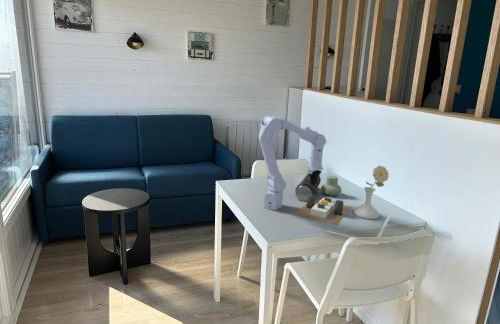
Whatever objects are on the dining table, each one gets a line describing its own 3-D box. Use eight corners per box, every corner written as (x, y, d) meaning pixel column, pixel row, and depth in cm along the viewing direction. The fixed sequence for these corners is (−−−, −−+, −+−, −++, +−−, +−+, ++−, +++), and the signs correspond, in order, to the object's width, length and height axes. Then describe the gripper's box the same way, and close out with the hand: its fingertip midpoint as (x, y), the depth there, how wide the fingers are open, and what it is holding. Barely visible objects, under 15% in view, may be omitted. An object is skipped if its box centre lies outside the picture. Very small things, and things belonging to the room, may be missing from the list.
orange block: (327, 205, 169) (327, 202, 169) (321, 203, 170) (321, 200, 170) (328, 204, 170) (328, 201, 170) (322, 202, 172) (322, 199, 171)
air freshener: (319, 191, 201) (320, 174, 199) (332, 190, 204) (333, 173, 201) (329, 198, 191) (331, 180, 189) (342, 197, 194) (344, 179, 191)
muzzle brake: (304, 187, 210) (321, 187, 207) (293, 202, 184) (313, 202, 181) (302, 171, 209) (320, 171, 205) (291, 184, 183) (312, 184, 179)
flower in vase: (355, 220, 164) (362, 167, 158) (351, 211, 175) (358, 160, 169) (385, 223, 162) (393, 169, 156) (379, 213, 173) (387, 163, 167)
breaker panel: (336, 227, 156) (338, 215, 154) (293, 216, 165) (294, 205, 163) (351, 208, 178) (352, 198, 176) (312, 200, 187) (313, 190, 186)
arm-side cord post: (312, 209, 172) (313, 197, 170) (305, 207, 174) (306, 195, 172) (315, 207, 175) (316, 195, 173) (308, 205, 177) (309, 193, 175)
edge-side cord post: (340, 215, 166) (342, 203, 164) (333, 214, 167) (334, 201, 166) (342, 213, 169) (344, 201, 167) (335, 211, 170) (336, 199, 169)
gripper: (318, 162, 167) (316, 190, 170) (328, 156, 179) (326, 182, 183) (304, 159, 170) (302, 187, 174) (315, 154, 183) (312, 180, 186)
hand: (313, 184), depth 178 cm, fingers closed
